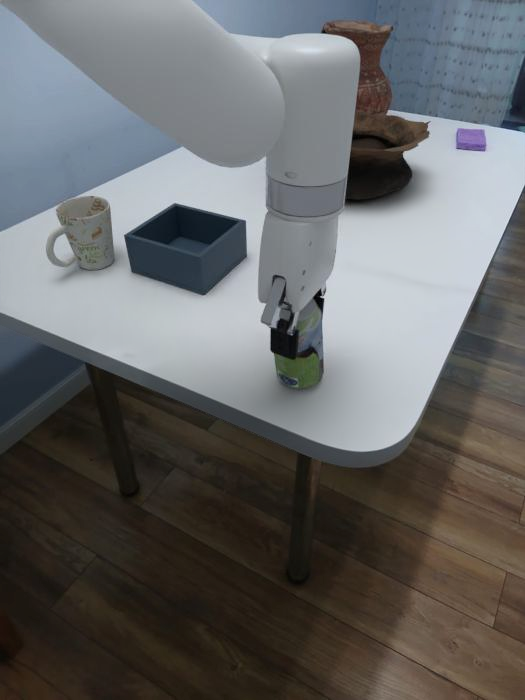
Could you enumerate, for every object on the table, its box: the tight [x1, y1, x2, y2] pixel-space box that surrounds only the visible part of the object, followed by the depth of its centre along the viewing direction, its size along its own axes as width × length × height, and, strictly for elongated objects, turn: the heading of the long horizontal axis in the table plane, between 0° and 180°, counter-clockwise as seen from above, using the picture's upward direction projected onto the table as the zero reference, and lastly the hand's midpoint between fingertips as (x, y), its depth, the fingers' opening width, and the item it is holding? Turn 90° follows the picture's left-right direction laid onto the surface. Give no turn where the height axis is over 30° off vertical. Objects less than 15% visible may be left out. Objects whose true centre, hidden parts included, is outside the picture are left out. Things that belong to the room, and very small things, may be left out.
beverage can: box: [269, 297, 325, 390], centre depth 59 cm, size 6×7×12 cm
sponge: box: [455, 127, 488, 152], centre depth 130 cm, size 7×13×2 cm, turn 164°
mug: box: [45, 195, 115, 271], centre depth 81 cm, size 8×13×10 cm, turn 148°
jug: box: [320, 19, 394, 116], centre depth 132 cm, size 22×21×25 cm
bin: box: [123, 202, 248, 296], centre depth 82 cm, size 15×14×7 cm
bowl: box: [345, 110, 432, 200], centre depth 108 cm, size 34×33×15 cm
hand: (296, 337), depth 58 cm, fingers closed on beverage can, 6 cm apart
